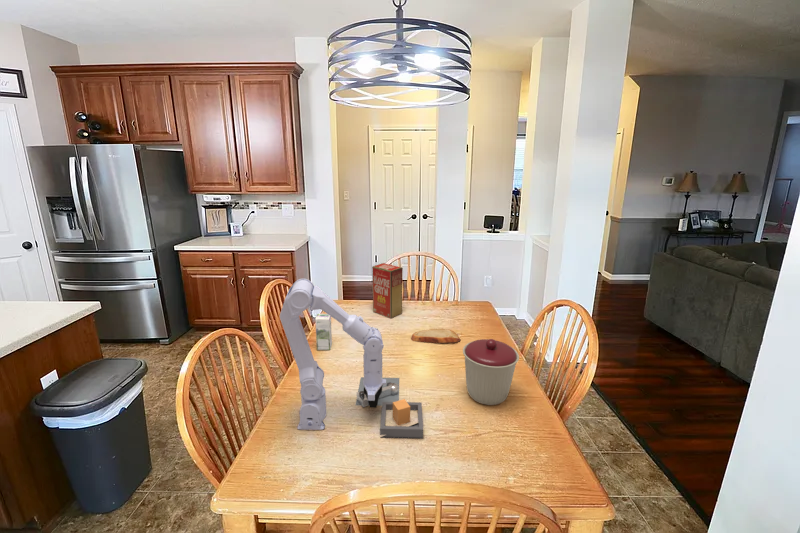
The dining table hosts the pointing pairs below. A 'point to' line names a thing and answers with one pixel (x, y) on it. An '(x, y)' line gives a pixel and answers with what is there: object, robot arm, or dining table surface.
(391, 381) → the crank board
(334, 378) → the dining table surface
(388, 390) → the crank
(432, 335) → the slice of bread
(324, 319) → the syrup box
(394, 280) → the food packaging
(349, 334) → the robot arm
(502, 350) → the canister
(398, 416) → the block
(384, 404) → the tray
